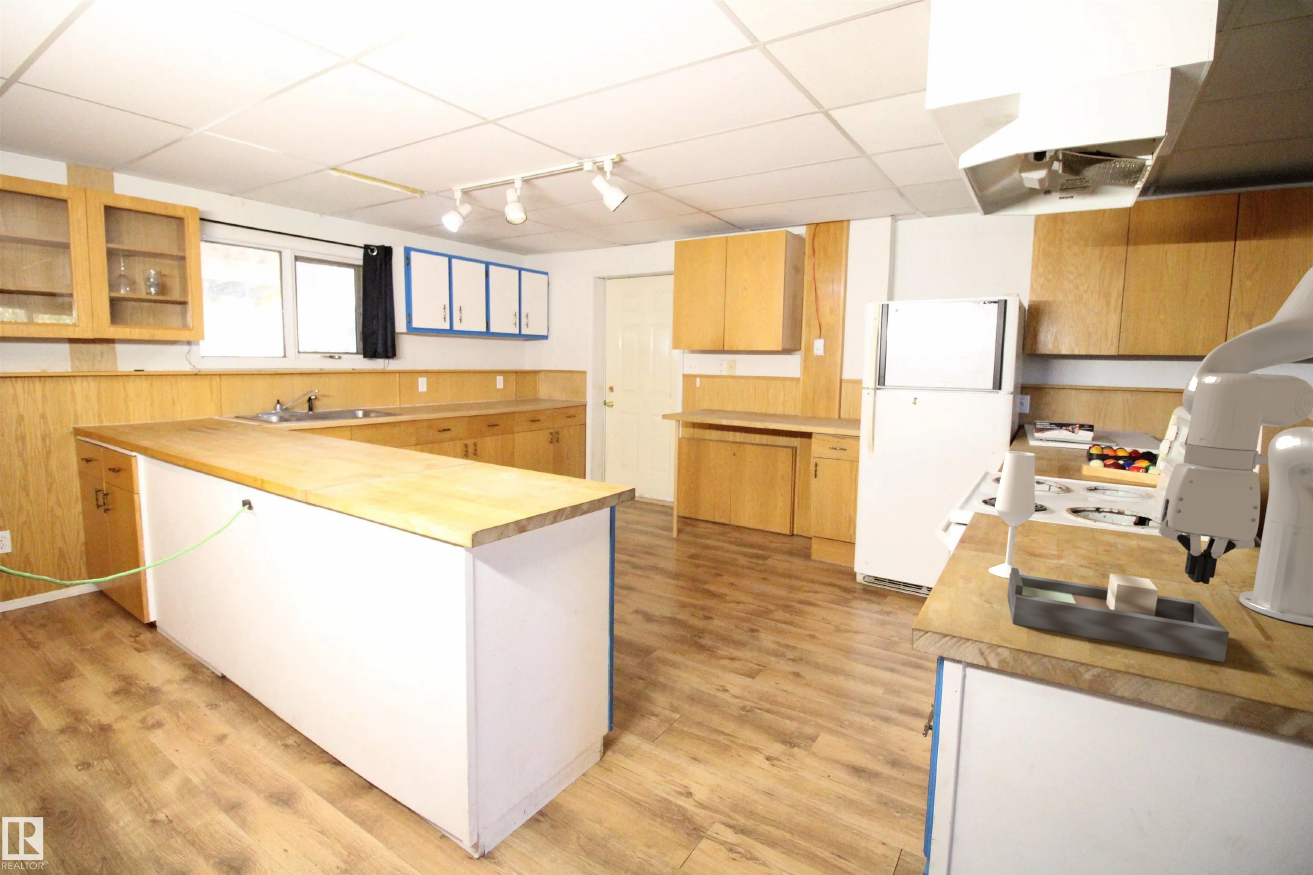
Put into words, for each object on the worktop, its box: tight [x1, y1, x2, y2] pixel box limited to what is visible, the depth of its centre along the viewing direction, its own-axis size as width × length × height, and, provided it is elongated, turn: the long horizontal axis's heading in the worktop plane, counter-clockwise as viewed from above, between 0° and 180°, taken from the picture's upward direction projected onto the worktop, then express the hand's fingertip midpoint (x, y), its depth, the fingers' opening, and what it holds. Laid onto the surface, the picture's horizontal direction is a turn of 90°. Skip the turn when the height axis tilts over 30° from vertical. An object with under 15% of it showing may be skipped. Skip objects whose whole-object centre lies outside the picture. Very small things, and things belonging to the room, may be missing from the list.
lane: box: [1007, 567, 1230, 663], centre depth 97 cm, size 26×12×6 cm, turn 64°
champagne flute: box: [988, 450, 1036, 579], centre depth 118 cm, size 7×7×24 cm
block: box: [1106, 573, 1159, 616], centre depth 95 cm, size 5×5×5 cm
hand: (1198, 580), depth 91 cm, fingers closed
